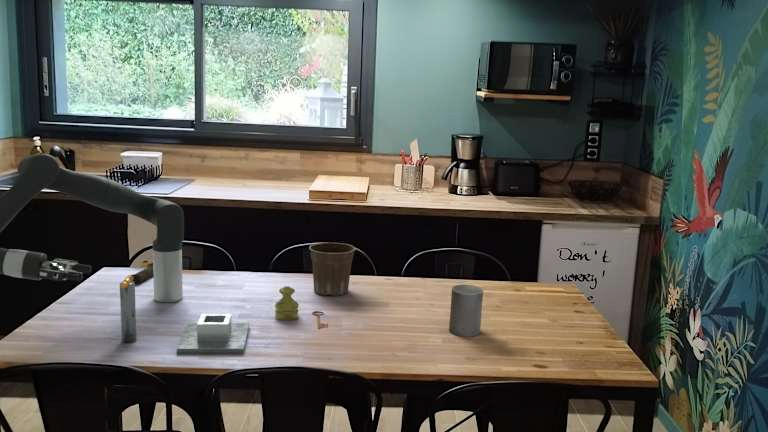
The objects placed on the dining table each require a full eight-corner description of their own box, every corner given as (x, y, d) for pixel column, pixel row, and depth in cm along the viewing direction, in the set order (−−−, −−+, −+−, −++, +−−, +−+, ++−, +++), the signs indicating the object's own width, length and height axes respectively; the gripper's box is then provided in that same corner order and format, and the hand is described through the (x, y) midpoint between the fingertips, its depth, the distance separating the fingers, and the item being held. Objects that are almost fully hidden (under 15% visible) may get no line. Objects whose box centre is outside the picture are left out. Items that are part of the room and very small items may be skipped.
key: (331, 330, 224) (329, 314, 239) (331, 328, 224) (329, 311, 238) (312, 329, 223) (311, 312, 238) (312, 326, 223) (312, 310, 238)
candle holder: (188, 328, 220) (188, 307, 219) (249, 327, 222) (249, 307, 220) (176, 353, 200) (176, 331, 199) (243, 353, 202) (243, 331, 201)
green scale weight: (288, 311, 238) (289, 282, 236) (303, 317, 233) (303, 287, 231) (270, 316, 233) (270, 286, 231) (284, 322, 228) (284, 291, 225)
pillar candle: (443, 327, 228) (446, 281, 225) (470, 324, 232) (473, 279, 229) (458, 339, 220) (461, 291, 216) (486, 335, 223) (490, 288, 220)
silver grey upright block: (125, 334, 213) (123, 274, 209) (139, 334, 213) (137, 274, 209) (118, 346, 204) (115, 283, 200) (132, 346, 204) (130, 283, 201)
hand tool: (140, 285, 259) (140, 272, 258) (130, 284, 260) (129, 271, 259) (167, 271, 278) (167, 259, 277) (158, 270, 278) (158, 258, 277)
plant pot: (328, 281, 272) (329, 239, 268) (363, 290, 262) (364, 247, 259) (299, 291, 259) (299, 247, 255) (334, 301, 249) (335, 255, 246)
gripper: (17, 256, 193) (81, 266, 195) (35, 246, 207) (95, 254, 209) (14, 284, 194) (77, 293, 196) (32, 271, 208) (91, 280, 210)
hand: (86, 273), depth 203 cm, fingers open, 8 cm apart
